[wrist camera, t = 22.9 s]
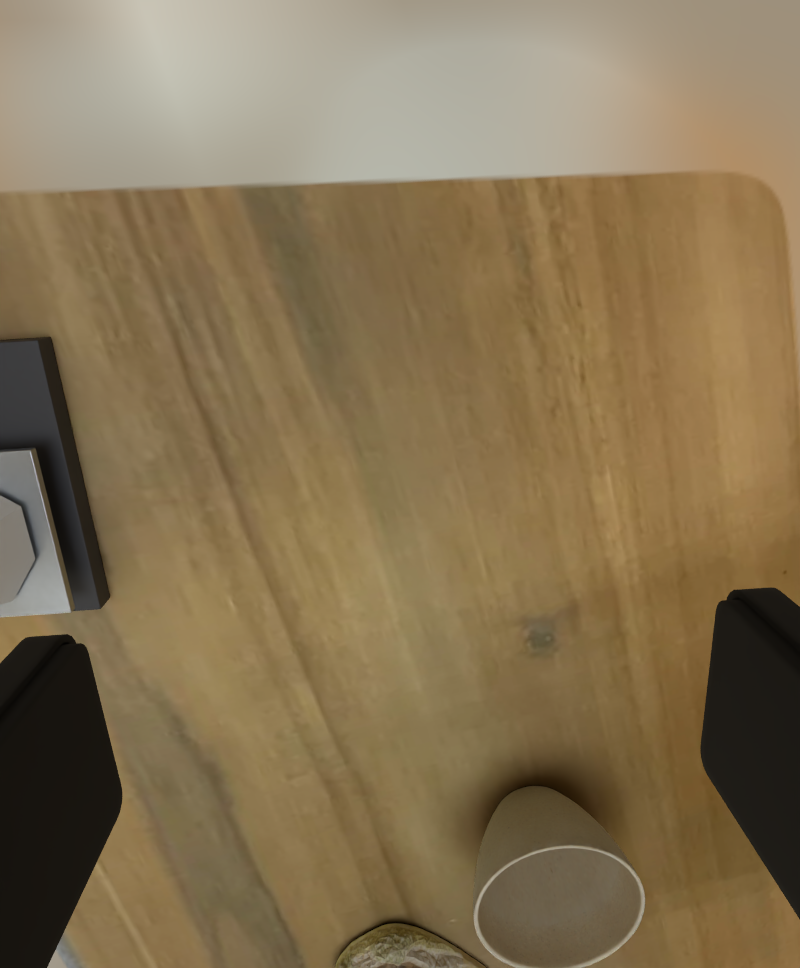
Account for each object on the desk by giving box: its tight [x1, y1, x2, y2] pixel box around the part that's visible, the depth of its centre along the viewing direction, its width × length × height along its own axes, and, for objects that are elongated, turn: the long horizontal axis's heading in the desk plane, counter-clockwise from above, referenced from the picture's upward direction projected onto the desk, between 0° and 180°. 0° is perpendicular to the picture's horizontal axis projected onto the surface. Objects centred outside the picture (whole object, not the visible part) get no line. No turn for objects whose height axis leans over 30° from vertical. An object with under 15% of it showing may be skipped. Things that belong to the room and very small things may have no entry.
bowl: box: [473, 786, 645, 968], centre depth 41 cm, size 10×10×7 cm
